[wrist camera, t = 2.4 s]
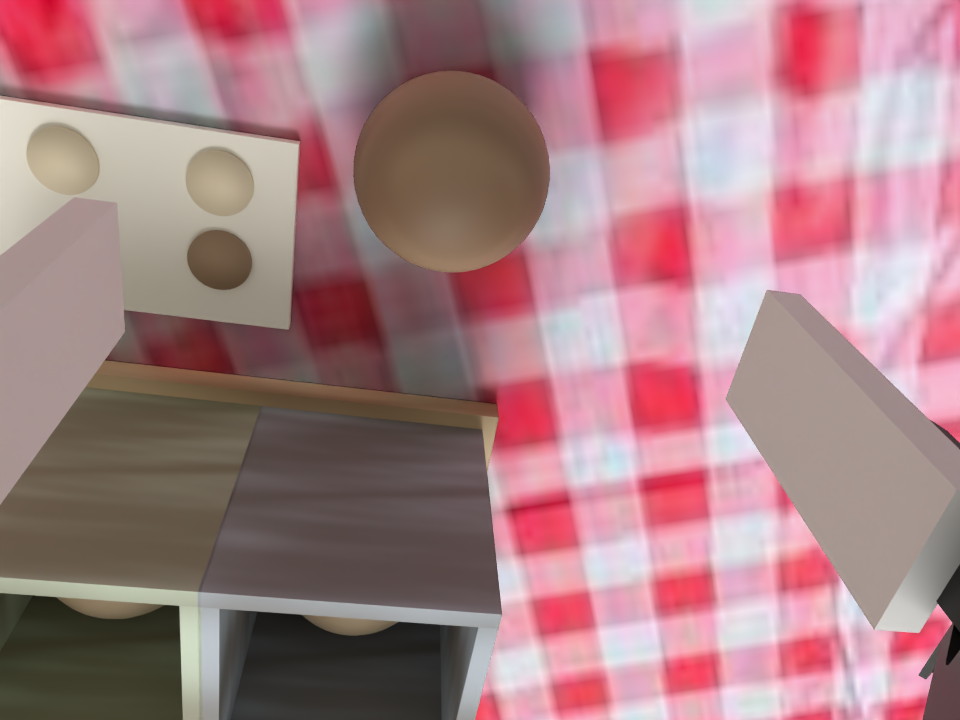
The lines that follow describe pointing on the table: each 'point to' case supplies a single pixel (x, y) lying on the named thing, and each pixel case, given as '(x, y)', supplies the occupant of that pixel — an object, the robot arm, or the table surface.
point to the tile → (163, 205)
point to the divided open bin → (250, 553)
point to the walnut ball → (451, 171)
